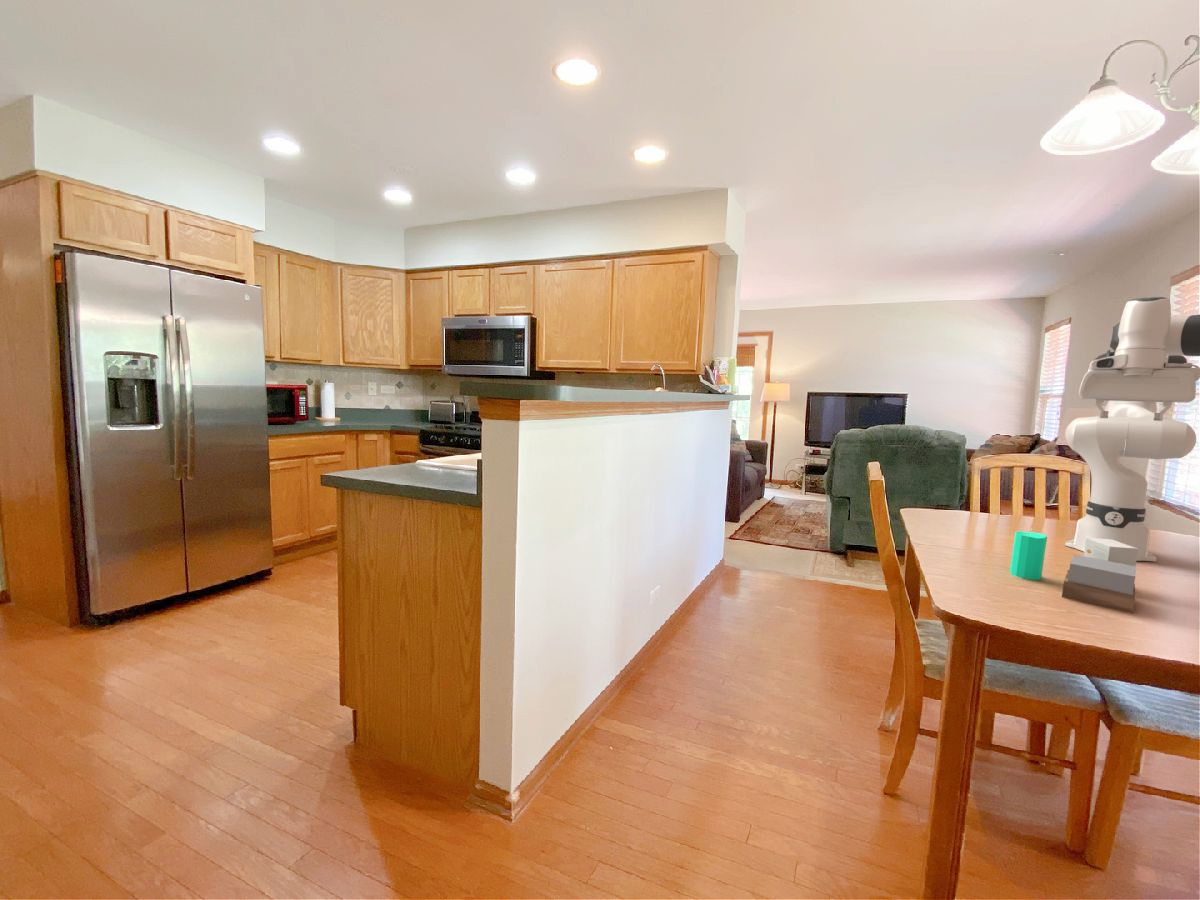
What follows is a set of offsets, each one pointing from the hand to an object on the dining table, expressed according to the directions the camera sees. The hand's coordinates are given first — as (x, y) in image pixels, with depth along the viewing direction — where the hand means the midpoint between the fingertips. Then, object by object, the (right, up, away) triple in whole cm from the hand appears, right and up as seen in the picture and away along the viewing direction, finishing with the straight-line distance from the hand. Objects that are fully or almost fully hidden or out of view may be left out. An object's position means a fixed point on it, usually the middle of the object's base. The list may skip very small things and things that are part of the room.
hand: (1130, 419), depth 130 cm
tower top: (-22, -37, -15) cm, 45 cm away
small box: (-12, -40, -6) cm, 42 cm away
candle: (-27, -39, -1) cm, 47 cm away
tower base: (-22, -41, -14) cm, 48 cm away
